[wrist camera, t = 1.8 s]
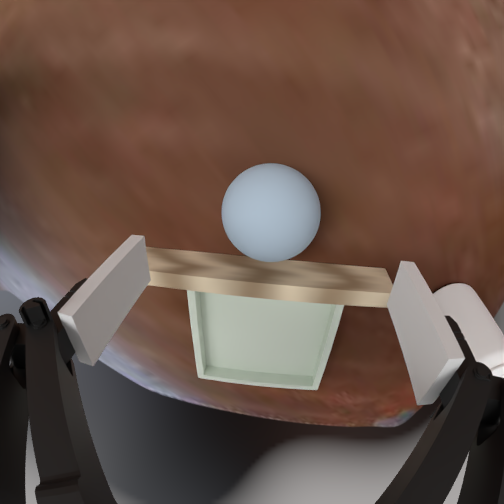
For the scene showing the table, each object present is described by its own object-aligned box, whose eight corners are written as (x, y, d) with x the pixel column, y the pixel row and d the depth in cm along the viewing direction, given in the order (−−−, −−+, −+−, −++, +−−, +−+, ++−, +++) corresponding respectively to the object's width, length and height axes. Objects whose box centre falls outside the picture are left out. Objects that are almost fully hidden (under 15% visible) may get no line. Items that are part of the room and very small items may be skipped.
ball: (230, 232, 26) (212, 276, 20) (231, 152, 23) (210, 173, 17) (311, 239, 26) (316, 286, 20) (320, 159, 22) (333, 183, 16)
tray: (201, 365, 36) (198, 377, 34) (192, 269, 29) (186, 280, 27) (316, 377, 34) (317, 390, 33) (343, 283, 27) (346, 295, 26)
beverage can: (404, 304, 28) (439, 398, 18) (466, 266, 25) (523, 346, 14) (423, 346, 31) (451, 428, 20) (478, 313, 28) (519, 388, 17)
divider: (138, 258, 29) (120, 280, 25) (136, 245, 28) (117, 266, 25) (381, 281, 27) (391, 307, 23) (385, 268, 26) (396, 293, 23)
